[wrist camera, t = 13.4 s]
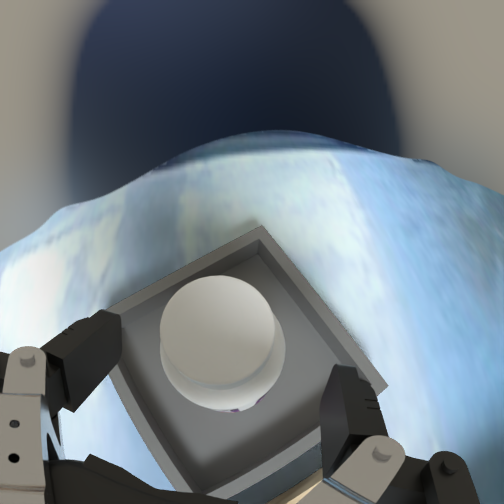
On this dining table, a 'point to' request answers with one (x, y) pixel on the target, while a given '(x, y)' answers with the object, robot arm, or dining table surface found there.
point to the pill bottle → (221, 344)
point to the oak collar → (298, 490)
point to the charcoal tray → (256, 417)
